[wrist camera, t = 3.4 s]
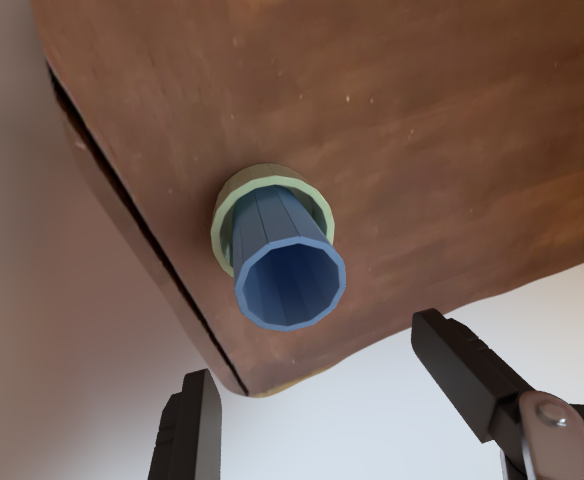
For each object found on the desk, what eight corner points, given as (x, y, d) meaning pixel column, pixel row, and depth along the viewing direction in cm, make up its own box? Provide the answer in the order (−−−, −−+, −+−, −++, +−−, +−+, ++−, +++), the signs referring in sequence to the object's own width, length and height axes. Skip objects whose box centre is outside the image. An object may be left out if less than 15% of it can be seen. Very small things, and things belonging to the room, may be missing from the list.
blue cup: (224, 239, 23) (222, 322, 14) (245, 173, 21) (257, 223, 12) (287, 255, 25) (319, 337, 16) (312, 196, 23) (363, 253, 14)
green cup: (202, 248, 24) (197, 276, 20) (231, 145, 21) (232, 155, 17) (295, 269, 27) (306, 298, 23) (333, 182, 24) (354, 198, 20)
